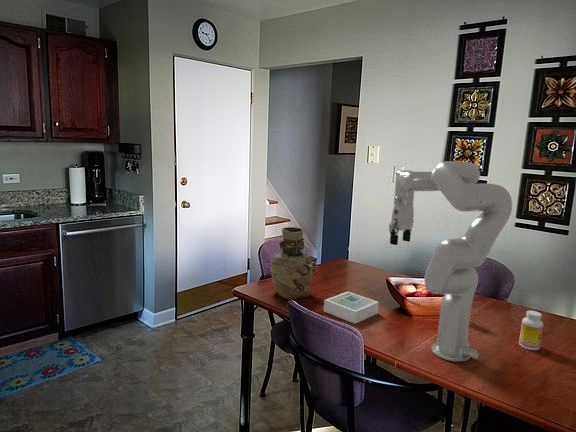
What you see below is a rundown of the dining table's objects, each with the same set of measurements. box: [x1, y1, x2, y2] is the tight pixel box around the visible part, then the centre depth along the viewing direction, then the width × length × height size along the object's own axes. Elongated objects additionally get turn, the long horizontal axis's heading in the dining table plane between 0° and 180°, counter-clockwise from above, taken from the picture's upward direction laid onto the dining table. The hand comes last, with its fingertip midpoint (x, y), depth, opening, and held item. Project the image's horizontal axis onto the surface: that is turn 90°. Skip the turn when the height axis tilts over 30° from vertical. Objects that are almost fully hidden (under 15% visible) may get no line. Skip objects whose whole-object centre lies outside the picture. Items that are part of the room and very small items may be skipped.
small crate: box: [340, 295, 363, 310], centre depth 180 cm, size 6×6×5 cm
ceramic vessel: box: [270, 226, 318, 300], centre depth 198 cm, size 19×21×30 cm
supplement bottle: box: [518, 310, 544, 351], centre depth 155 cm, size 7×7×13 cm
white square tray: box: [323, 291, 380, 325], centre depth 181 cm, size 16×16×5 cm
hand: (400, 242), depth 177 cm, fingers open, 9 cm apart
